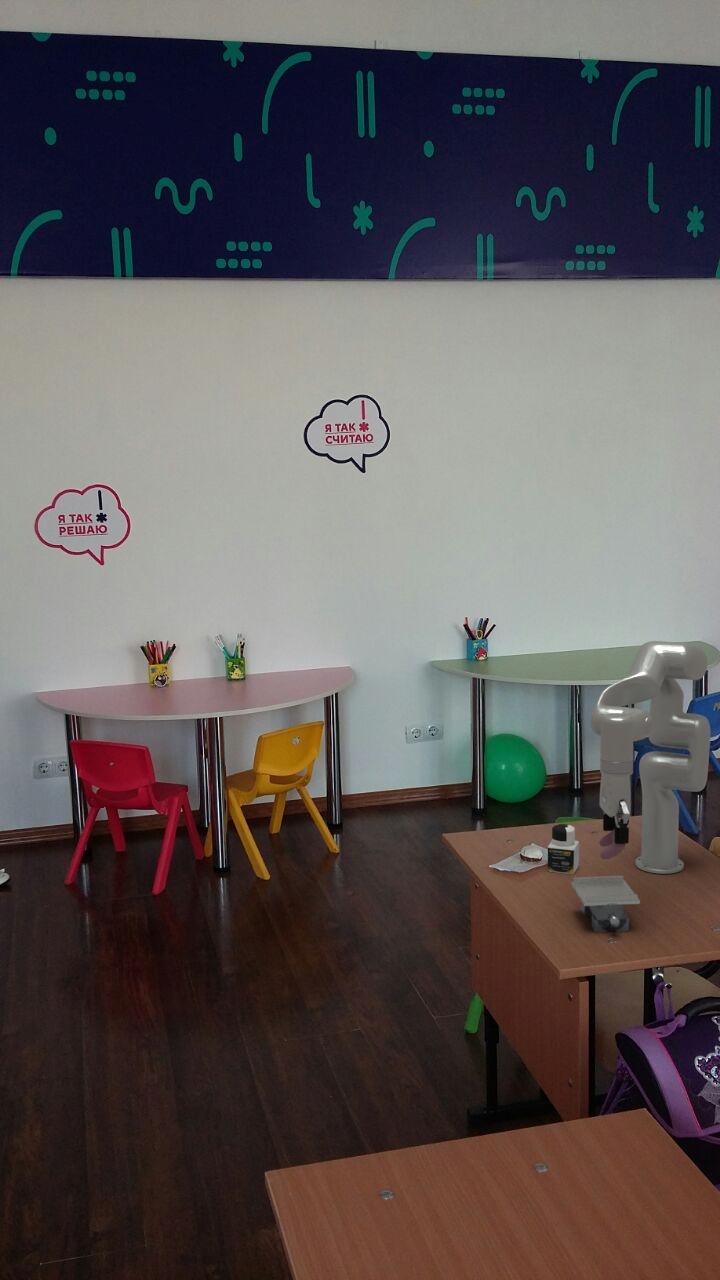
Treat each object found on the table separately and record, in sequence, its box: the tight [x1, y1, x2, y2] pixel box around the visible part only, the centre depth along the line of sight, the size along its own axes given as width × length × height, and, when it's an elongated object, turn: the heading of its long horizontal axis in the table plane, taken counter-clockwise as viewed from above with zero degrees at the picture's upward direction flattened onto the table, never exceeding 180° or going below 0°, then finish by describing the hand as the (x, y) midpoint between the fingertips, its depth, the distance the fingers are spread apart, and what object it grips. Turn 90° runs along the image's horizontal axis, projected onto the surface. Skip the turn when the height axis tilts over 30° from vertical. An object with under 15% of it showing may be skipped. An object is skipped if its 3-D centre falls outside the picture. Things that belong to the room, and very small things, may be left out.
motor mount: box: [570, 875, 641, 933], centre depth 263 cm, size 16×13×9 cm
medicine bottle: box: [547, 823, 580, 875], centre depth 299 cm, size 7×7×12 cm
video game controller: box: [598, 829, 627, 860], centre depth 263 cm, size 10×5×7 cm, turn 170°
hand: (615, 836), depth 263 cm, fingers closed on video game controller, 9 cm apart
